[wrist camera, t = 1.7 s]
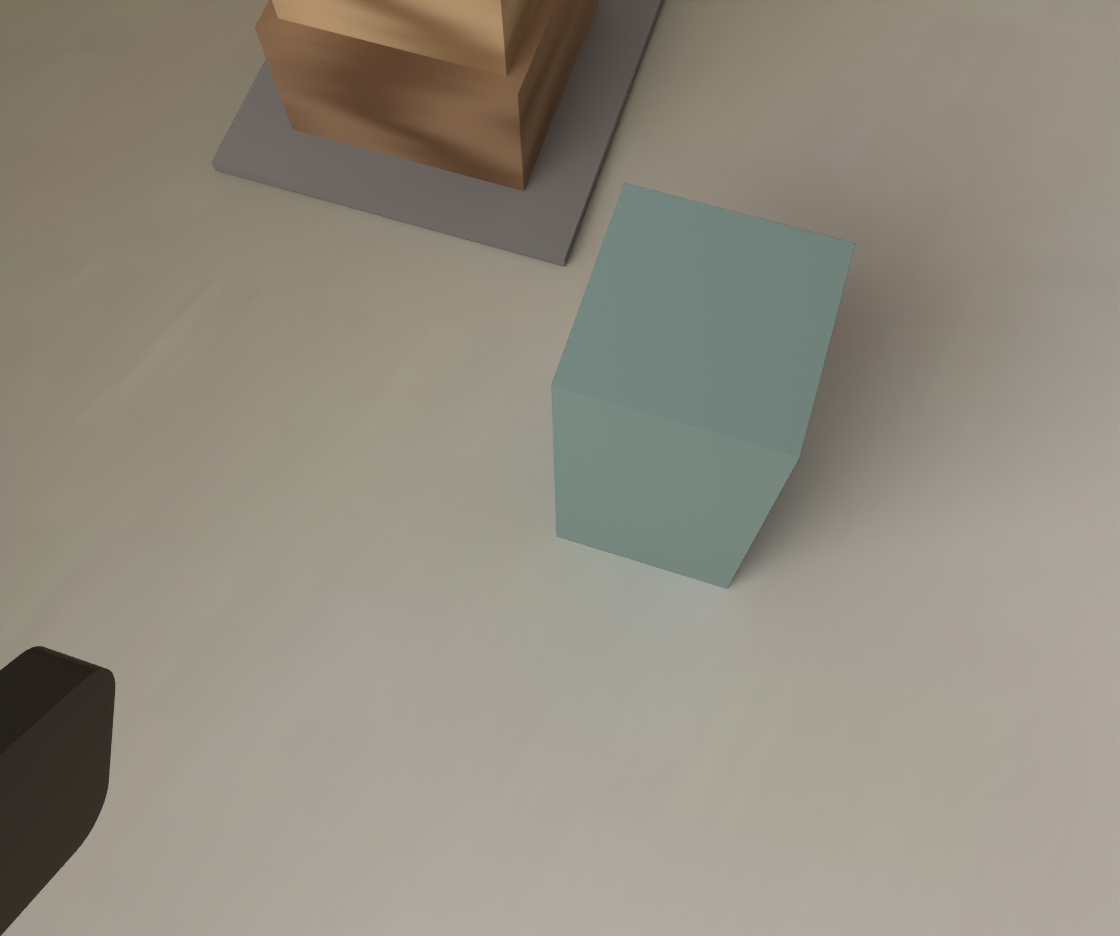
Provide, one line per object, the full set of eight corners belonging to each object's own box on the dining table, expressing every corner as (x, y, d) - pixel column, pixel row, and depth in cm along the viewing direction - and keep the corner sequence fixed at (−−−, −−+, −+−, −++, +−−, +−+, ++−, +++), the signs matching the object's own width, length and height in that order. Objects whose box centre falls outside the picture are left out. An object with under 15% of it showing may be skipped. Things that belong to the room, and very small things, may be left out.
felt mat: (668, -15, 37) (669, -24, 37) (564, 266, 33) (564, 259, 33) (352, -92, 39) (350, -101, 38) (215, 169, 35) (211, 162, 34)
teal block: (769, 431, 31) (855, 243, 22) (726, 588, 30) (799, 457, 20) (607, 384, 32) (624, 182, 23) (556, 536, 30) (551, 385, 21)
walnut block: (597, 5, 37) (601, -108, 32) (523, 191, 34) (517, 94, 30) (381, -48, 38) (358, -165, 33) (292, 129, 35) (255, 27, 31)
